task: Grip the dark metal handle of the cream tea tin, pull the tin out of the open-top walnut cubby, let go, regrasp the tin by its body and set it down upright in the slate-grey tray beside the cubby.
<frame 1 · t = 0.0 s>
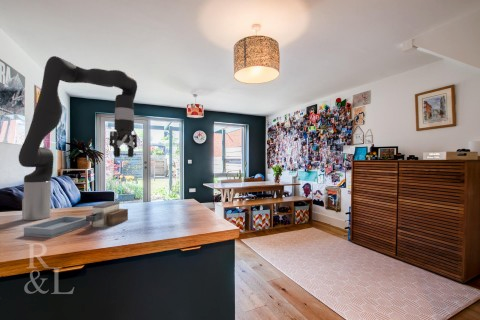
hand: (124, 157, 95), 29 cm above the countertop, tool pointing down, fingers open, 8 cm apart
cubby: (109, 222, 96), on the countertop
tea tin: (106, 223, 95), on the countertop
tray: (59, 229, 87), on the countertop
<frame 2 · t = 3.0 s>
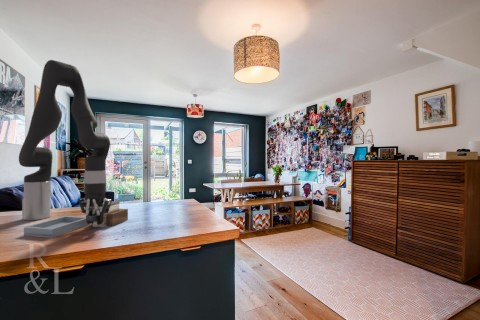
hand: (95, 223, 89), 2 cm above the countertop, tool pointing down, fingers closed on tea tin, 3 cm apart
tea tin: (106, 223, 95), on the countertop, touching gripper
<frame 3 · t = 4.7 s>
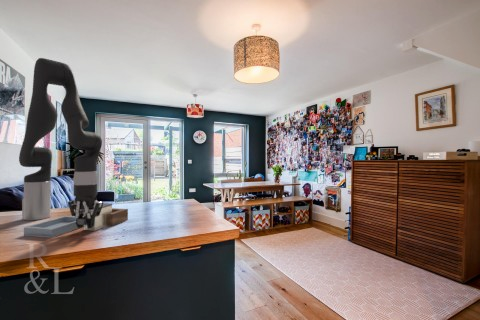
hand: (85, 227, 84), 2 cm above the countertop, tool pointing down, fingers closed on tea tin, 3 cm apart
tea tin: (98, 226, 90), on the countertop, touching gripper
when the fingers open (2 cm above the countertop, at t = 6.6 s): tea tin stays where it is, on the countertop.
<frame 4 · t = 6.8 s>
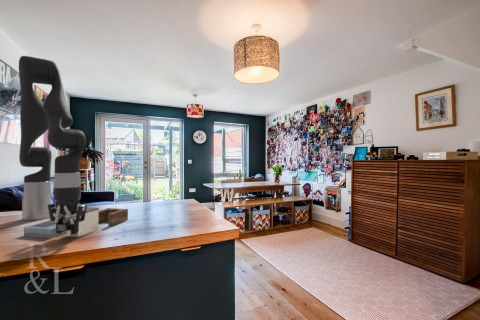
hand: (67, 233, 77), 2 cm above the countertop, tool pointing down, fingers open, 5 cm apart
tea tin: (83, 232, 83), on the countertop
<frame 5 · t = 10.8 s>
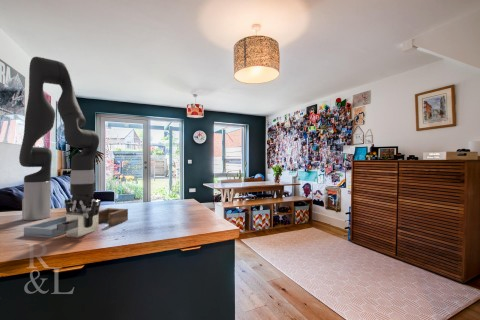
hand: (82, 226, 83), 2 cm above the countertop, tool pointing down, fingers closed on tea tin, 5 cm apart
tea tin: (83, 232, 83), on the countertop, touching gripper
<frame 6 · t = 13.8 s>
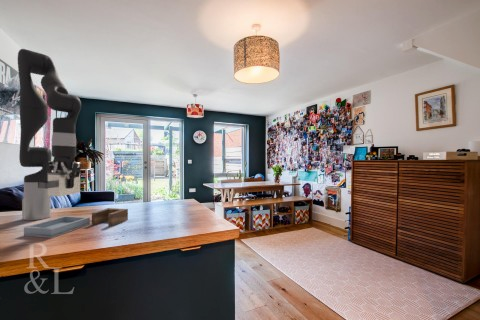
hand: (63, 187, 86), 17 cm above the countertop, tool pointing down, fingers closed on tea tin, 5 cm apart
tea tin: (64, 193, 87), point 14 cm above the countertop, touching gripper
when the fingers open (5 cm above the countertop, at t = 16.8 s): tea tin drops 1 cm, resting on tray.
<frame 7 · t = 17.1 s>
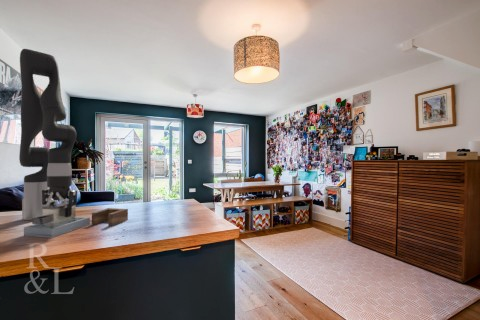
hand: (59, 216, 86), 5 cm above the countertop, tool pointing down, fingers open, 7 cm apart
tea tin: (59, 226, 87), point 1 cm above the countertop, touching tray
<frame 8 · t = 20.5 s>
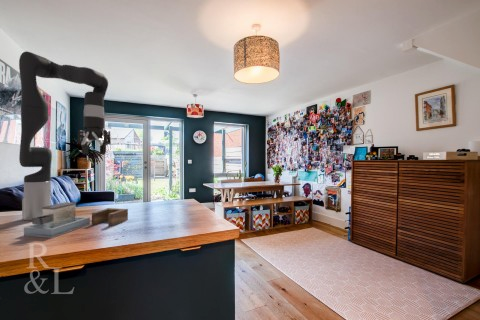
hand: (94, 154, 95), 30 cm above the countertop, tool pointing down, fingers open, 8 cm apart
nothing on the countertop moved.
at the end: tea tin 0.4 cm off-centre on the tray, point 1.0 cm above the tray's base; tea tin tilted 0°; the gripper is holding nothing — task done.
